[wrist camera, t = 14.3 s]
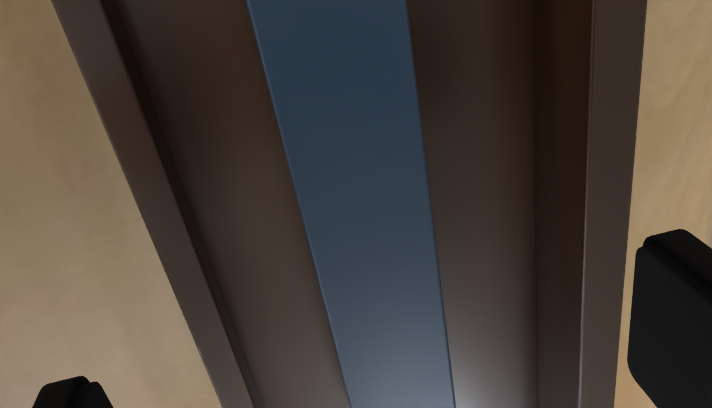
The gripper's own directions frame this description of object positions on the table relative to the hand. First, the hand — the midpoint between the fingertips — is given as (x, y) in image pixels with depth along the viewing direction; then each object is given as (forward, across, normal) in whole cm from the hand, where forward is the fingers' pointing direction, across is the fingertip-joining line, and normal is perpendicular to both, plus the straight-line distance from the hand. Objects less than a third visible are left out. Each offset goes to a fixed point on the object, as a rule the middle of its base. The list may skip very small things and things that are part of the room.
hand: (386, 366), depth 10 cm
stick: (+7, -1, 0) cm, 7 cm away
